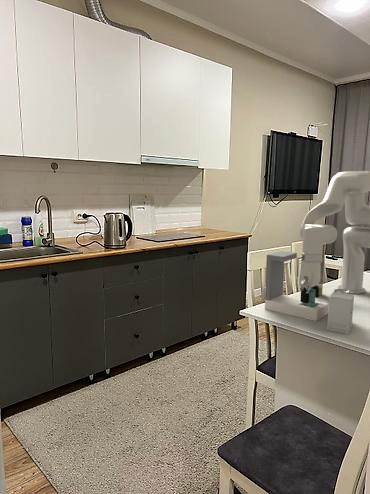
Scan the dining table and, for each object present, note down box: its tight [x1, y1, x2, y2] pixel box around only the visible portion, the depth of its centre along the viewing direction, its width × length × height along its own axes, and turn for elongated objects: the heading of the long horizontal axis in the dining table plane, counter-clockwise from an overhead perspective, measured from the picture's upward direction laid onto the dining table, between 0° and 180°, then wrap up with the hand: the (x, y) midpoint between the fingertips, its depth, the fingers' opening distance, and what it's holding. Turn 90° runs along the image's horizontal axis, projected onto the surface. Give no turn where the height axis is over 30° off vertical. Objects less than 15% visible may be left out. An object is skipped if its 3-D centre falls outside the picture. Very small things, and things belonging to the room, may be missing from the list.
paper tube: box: [308, 244, 326, 297], centre depth 176 cm, size 7×7×25 cm
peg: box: [304, 288, 316, 308], centre depth 149 cm, size 4×4×10 cm
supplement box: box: [326, 291, 355, 335], centre depth 132 cm, size 7×7×13 cm
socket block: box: [264, 250, 329, 322], centre depth 151 cm, size 12×22×23 cm, turn 49°
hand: (309, 299), depth 149 cm, fingers open, 9 cm apart
